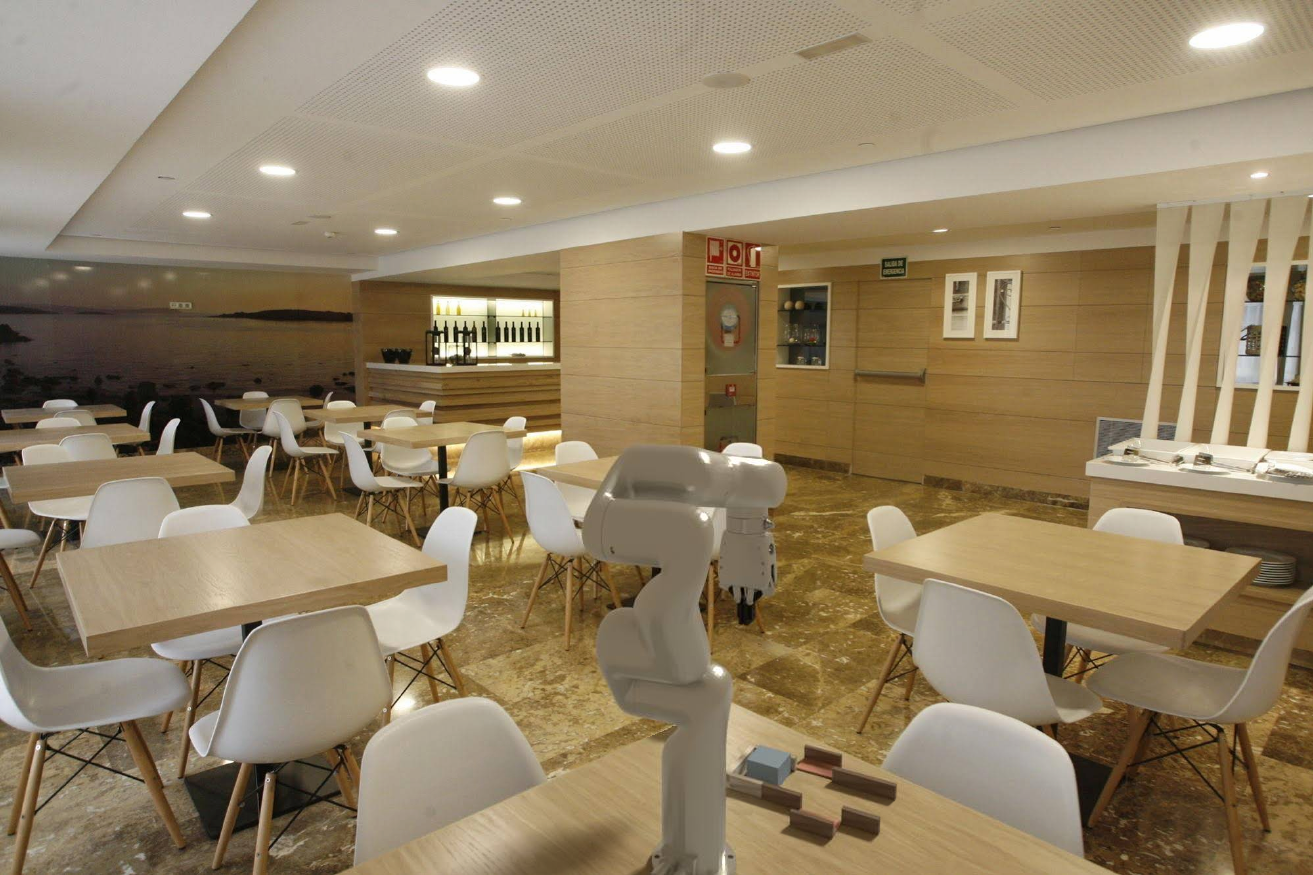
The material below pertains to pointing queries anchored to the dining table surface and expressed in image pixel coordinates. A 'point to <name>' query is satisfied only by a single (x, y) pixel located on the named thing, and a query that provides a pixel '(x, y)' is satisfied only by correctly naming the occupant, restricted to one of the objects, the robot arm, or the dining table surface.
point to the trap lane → (813, 763)
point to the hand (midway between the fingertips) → (746, 622)
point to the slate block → (769, 765)
